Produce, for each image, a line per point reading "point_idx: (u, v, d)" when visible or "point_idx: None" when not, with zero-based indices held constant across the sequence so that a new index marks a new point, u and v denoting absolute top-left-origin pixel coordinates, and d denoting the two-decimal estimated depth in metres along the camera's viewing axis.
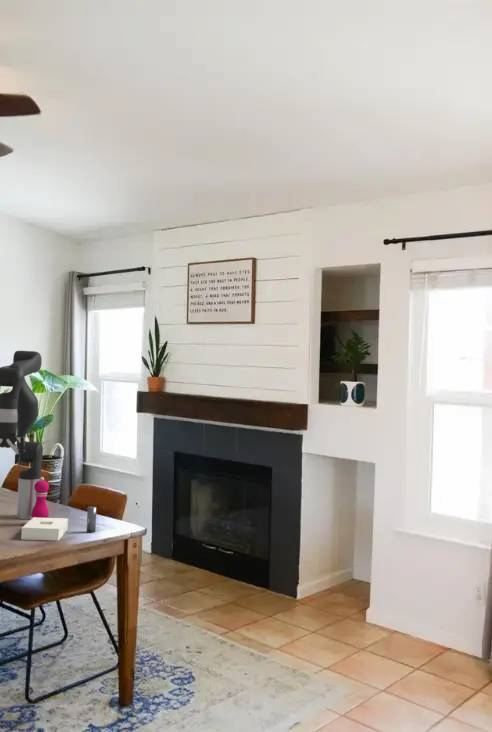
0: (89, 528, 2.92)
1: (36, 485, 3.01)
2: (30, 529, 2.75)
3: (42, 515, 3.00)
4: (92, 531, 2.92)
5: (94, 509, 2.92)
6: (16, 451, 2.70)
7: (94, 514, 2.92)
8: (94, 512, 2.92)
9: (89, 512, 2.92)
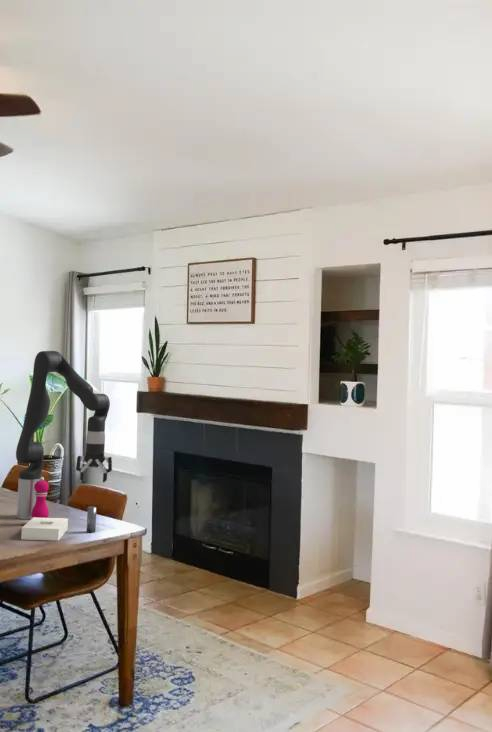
0: (89, 528, 2.92)
1: (36, 485, 3.01)
2: (30, 529, 2.75)
3: (42, 515, 3.00)
4: (92, 531, 2.92)
5: (94, 509, 2.92)
6: (104, 470, 2.93)
7: (94, 514, 2.92)
8: (94, 512, 2.92)
9: (89, 512, 2.92)
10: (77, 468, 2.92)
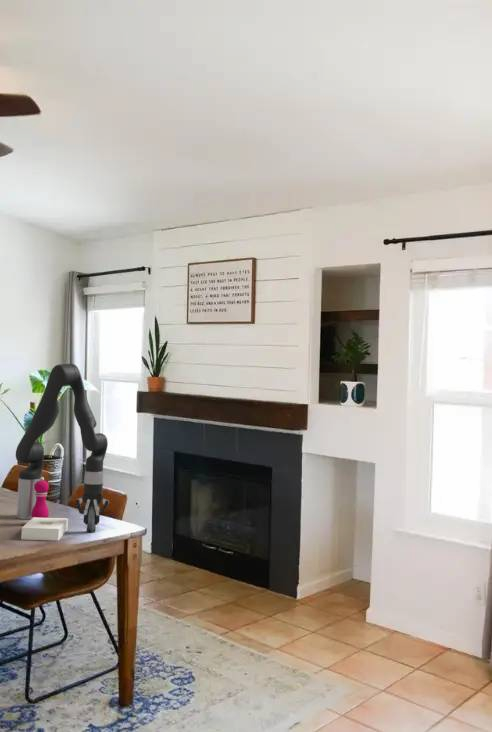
0: (89, 528, 2.92)
1: (36, 485, 3.01)
2: (30, 529, 2.75)
3: (42, 515, 3.00)
4: (92, 531, 2.92)
5: (94, 509, 2.92)
6: (97, 513, 2.93)
7: (94, 514, 2.92)
8: (94, 512, 2.92)
9: (89, 512, 2.92)
10: (80, 511, 2.92)
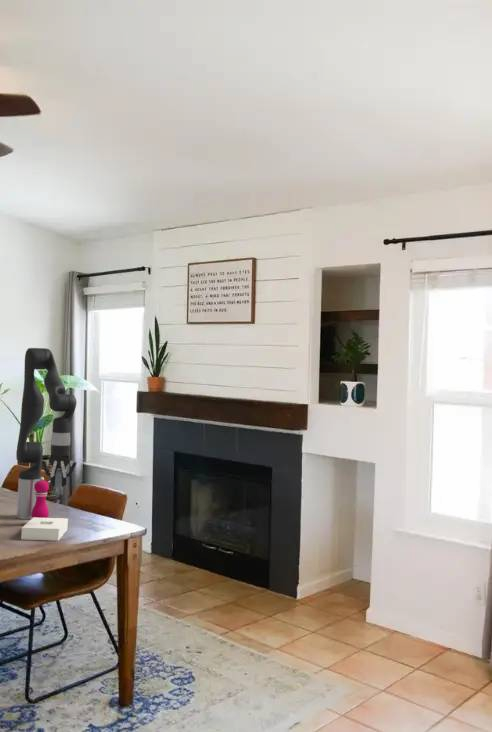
0: (56, 490, 2.86)
1: (36, 485, 3.01)
2: (30, 529, 2.75)
3: (42, 515, 3.00)
4: (59, 493, 2.86)
5: (61, 471, 2.86)
6: (64, 475, 2.87)
7: (61, 476, 2.87)
8: (61, 474, 2.87)
9: (56, 474, 2.86)
10: (47, 473, 2.86)
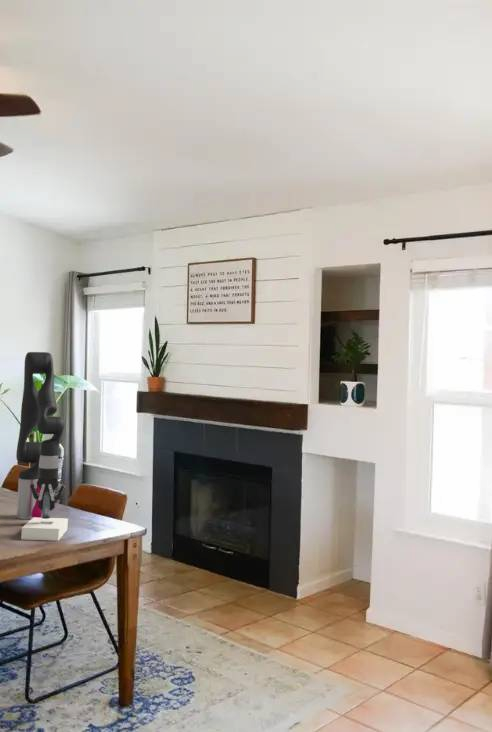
0: (44, 514, 2.83)
1: None
2: (30, 529, 2.75)
3: None
4: (47, 517, 2.84)
5: (49, 494, 2.84)
6: (52, 498, 2.84)
7: (49, 499, 2.84)
8: (49, 497, 2.84)
9: (44, 497, 2.84)
10: (35, 496, 2.84)
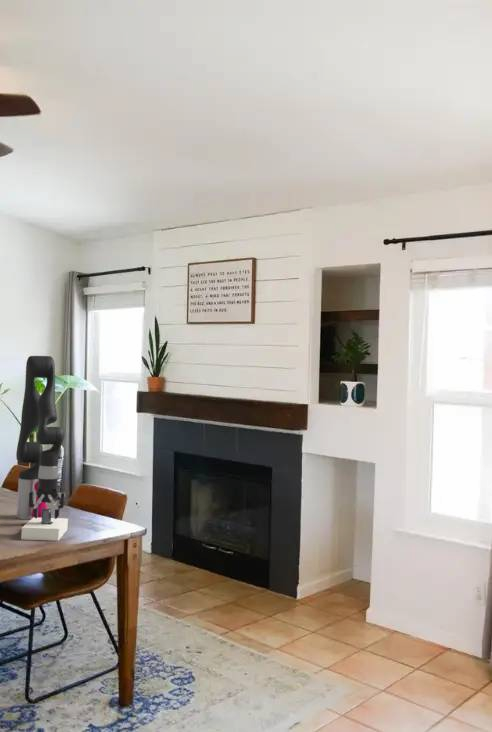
0: None
1: (36, 485, 3.01)
2: (30, 529, 2.75)
3: None
4: None
5: (48, 511, 2.84)
6: (56, 506, 2.85)
7: (49, 516, 2.84)
8: (49, 514, 2.84)
9: (43, 514, 2.84)
10: (30, 504, 2.84)
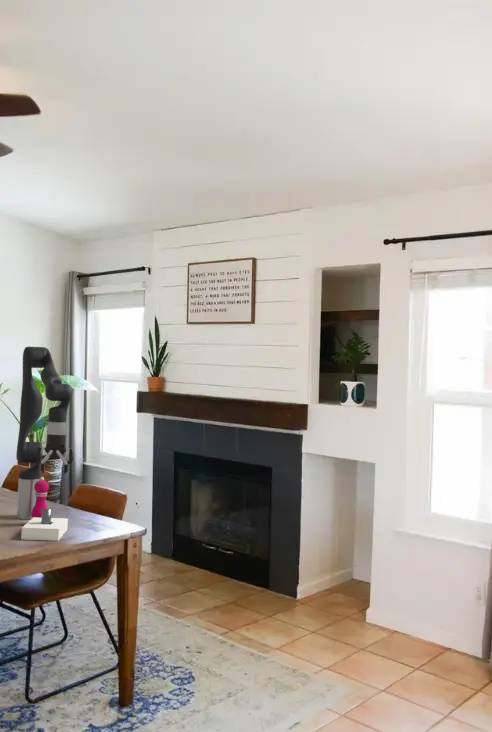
0: None
1: (36, 485, 3.01)
2: (30, 529, 2.75)
3: None
4: None
5: (49, 511, 2.84)
6: (65, 462, 2.88)
7: (49, 516, 2.84)
8: (49, 514, 2.84)
9: (43, 514, 2.84)
10: (37, 459, 2.87)
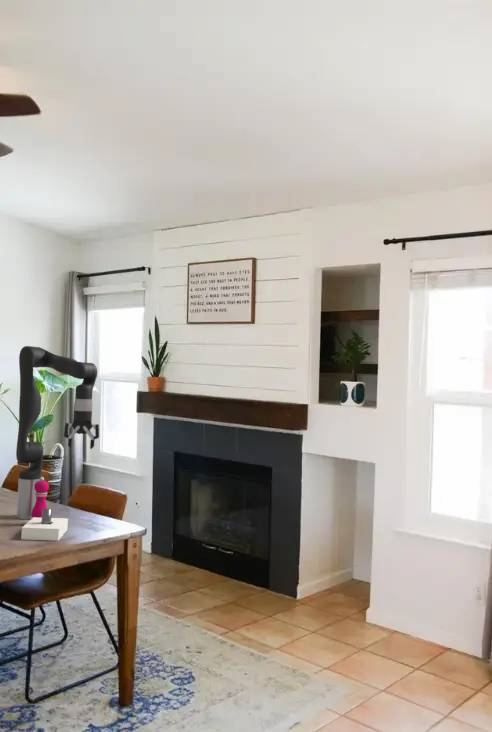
0: None
1: (36, 485, 3.01)
2: (30, 529, 2.75)
3: None
4: None
5: (49, 511, 2.84)
6: (91, 437, 3.01)
7: (49, 516, 2.84)
8: (49, 514, 2.84)
9: (44, 514, 2.84)
10: (65, 435, 3.00)
